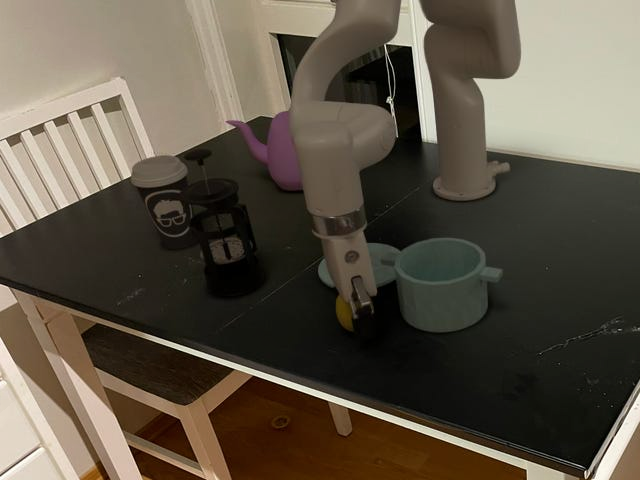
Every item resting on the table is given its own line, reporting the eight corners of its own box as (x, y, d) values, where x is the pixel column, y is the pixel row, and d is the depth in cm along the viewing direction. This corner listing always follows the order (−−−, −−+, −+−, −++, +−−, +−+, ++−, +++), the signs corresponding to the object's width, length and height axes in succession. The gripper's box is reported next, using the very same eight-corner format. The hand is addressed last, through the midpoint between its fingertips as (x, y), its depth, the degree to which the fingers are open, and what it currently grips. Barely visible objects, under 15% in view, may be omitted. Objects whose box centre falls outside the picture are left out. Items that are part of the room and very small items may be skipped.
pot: (407, 276, 123) (402, 230, 118) (515, 293, 117) (514, 246, 112) (370, 320, 113) (362, 273, 108) (486, 342, 108) (483, 293, 102)
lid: (345, 244, 133) (339, 212, 129) (420, 255, 128) (416, 223, 125) (302, 286, 122) (295, 253, 118) (382, 300, 118) (377, 267, 114)
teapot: (349, 151, 167) (338, 84, 158) (352, 190, 150) (340, 118, 141) (247, 162, 165) (230, 95, 155) (239, 203, 148) (219, 130, 139)
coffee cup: (218, 233, 139) (196, 157, 129) (183, 257, 132) (156, 179, 123) (180, 225, 142) (155, 150, 133) (143, 248, 135) (114, 171, 126)
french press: (241, 304, 119) (201, 169, 105) (193, 295, 122) (148, 163, 107) (280, 267, 127) (248, 138, 113) (235, 260, 130) (198, 133, 116)
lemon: (370, 344, 109) (362, 298, 104) (335, 341, 110) (325, 296, 105) (382, 322, 113) (374, 278, 108) (347, 320, 114) (339, 275, 109)
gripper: (384, 237, 94) (400, 345, 105) (346, 187, 107) (363, 287, 117) (327, 251, 92) (349, 360, 103) (295, 198, 105) (317, 300, 115)
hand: (356, 321), depth 110 cm, fingers open, 8 cm apart
